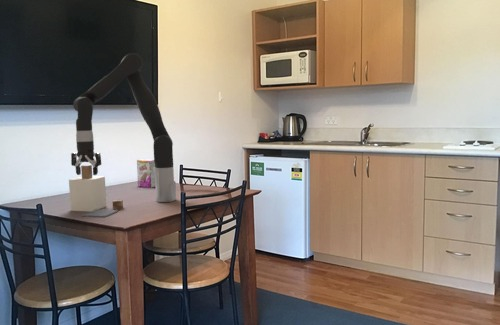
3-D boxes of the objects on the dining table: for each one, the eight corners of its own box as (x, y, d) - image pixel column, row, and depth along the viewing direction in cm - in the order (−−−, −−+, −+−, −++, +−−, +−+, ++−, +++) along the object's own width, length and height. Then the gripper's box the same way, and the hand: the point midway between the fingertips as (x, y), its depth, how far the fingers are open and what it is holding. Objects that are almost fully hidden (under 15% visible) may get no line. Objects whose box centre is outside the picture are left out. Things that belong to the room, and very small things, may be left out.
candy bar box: (137, 186, 281) (136, 159, 279) (143, 185, 285) (142, 159, 283) (151, 188, 275) (149, 160, 273) (156, 186, 279) (155, 159, 277)
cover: (106, 206, 223) (104, 164, 221) (93, 211, 212) (90, 167, 210) (84, 205, 226) (82, 163, 224) (70, 210, 215) (68, 166, 213)
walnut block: (122, 207, 220) (122, 199, 220) (121, 209, 216) (121, 201, 216) (114, 208, 220) (113, 199, 219) (112, 209, 216) (112, 201, 215)
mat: (117, 211, 211) (117, 210, 211) (105, 217, 200) (105, 215, 200) (96, 211, 213) (96, 209, 213) (82, 216, 203) (82, 215, 203)
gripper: (103, 139, 218) (104, 173, 219) (76, 139, 221) (78, 173, 223) (94, 140, 210) (96, 176, 212) (66, 140, 213) (68, 175, 215)
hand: (86, 174), depth 217 cm, fingers open, 8 cm apart
